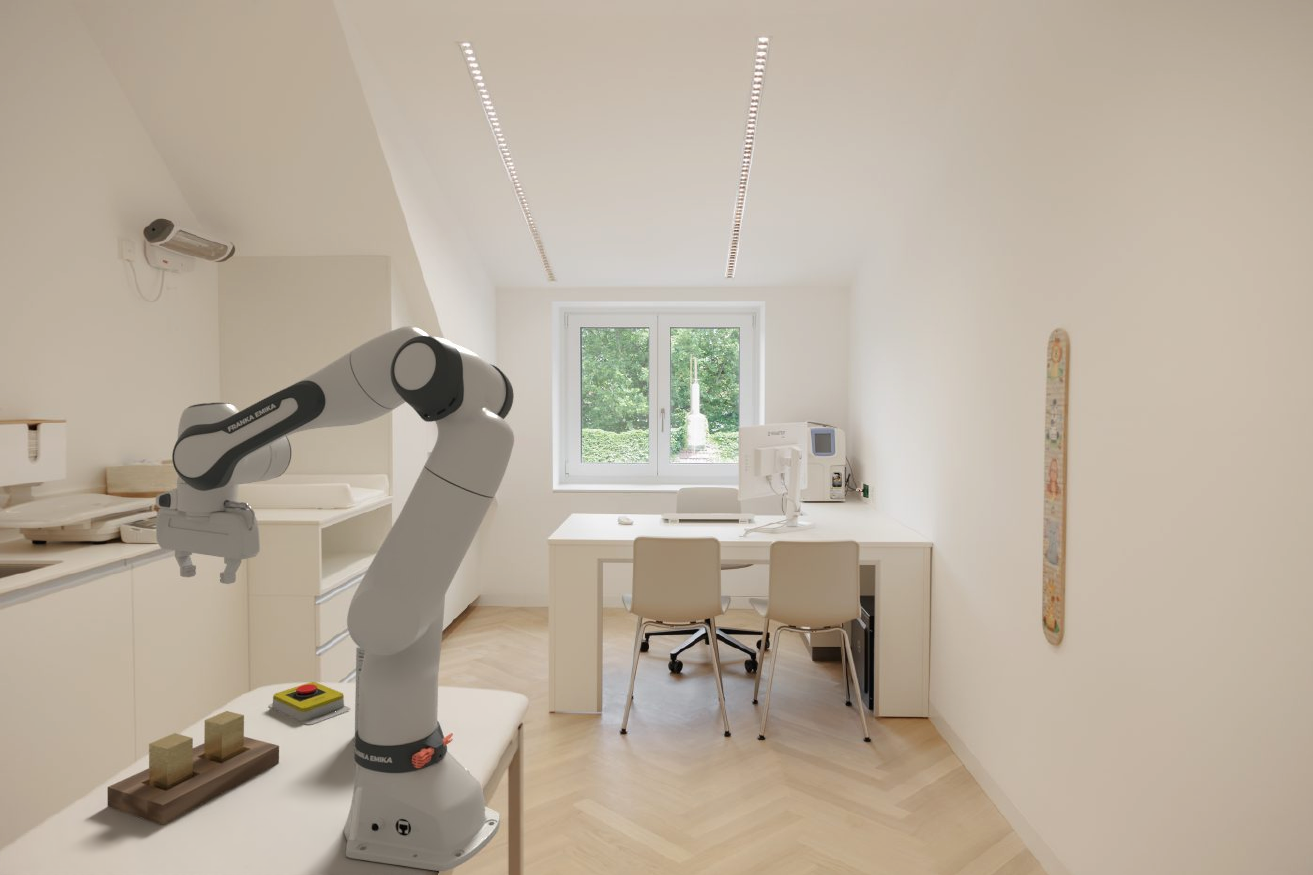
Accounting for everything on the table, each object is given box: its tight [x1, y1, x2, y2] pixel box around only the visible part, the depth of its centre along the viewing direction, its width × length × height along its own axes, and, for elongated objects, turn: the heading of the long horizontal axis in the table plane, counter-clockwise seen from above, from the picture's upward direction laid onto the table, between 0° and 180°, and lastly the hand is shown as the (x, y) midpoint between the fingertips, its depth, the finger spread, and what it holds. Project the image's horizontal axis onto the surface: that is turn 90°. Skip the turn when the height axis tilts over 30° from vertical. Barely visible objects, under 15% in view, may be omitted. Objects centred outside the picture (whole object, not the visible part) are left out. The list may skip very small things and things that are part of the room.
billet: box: [148, 732, 194, 791], centre depth 111 cm, size 4×4×9 cm
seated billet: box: [203, 710, 245, 763], centre depth 120 cm, size 4×4×9 cm
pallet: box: [107, 736, 280, 826], centre depth 116 cm, size 12×20×3 cm, turn 159°
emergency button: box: [268, 681, 351, 726], centre depth 145 cm, size 9×4×15 cm
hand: (207, 579), depth 122 cm, fingers open, 8 cm apart
